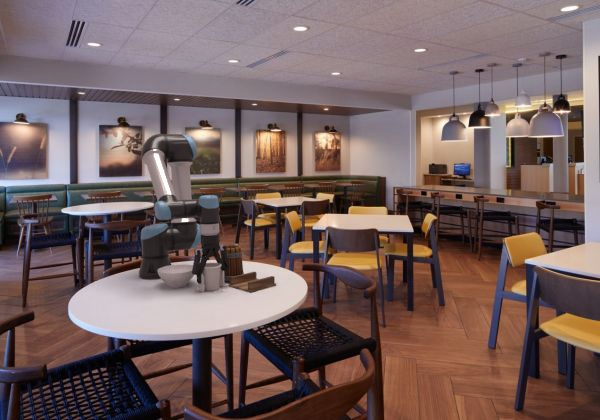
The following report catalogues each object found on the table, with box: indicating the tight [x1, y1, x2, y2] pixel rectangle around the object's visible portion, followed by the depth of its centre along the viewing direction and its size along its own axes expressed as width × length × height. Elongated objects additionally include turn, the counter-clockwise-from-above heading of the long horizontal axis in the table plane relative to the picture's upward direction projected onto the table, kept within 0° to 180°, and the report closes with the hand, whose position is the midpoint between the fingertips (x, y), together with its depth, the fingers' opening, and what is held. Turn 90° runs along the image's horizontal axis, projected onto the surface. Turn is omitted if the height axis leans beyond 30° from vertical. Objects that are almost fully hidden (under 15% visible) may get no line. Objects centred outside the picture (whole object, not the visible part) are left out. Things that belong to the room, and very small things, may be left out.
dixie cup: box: [202, 262, 221, 292], centre depth 179 cm, size 8×8×10 cm
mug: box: [220, 243, 245, 284], centre depth 194 cm, size 16×11×15 cm
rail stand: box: [228, 271, 277, 293], centre depth 183 cm, size 14×14×4 cm
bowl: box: [157, 263, 195, 288], centre depth 186 cm, size 16×16×7 cm
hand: (211, 288), depth 179 cm, fingers open, 9 cm apart
